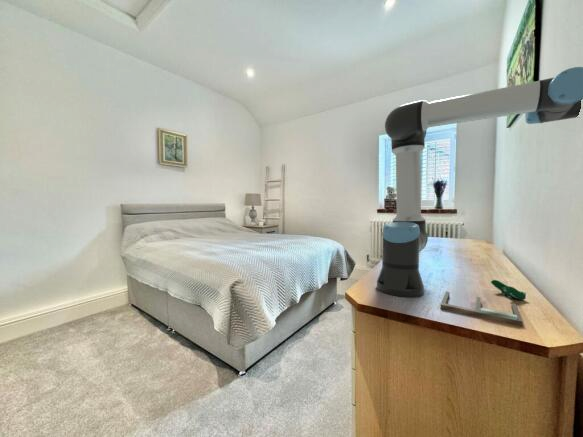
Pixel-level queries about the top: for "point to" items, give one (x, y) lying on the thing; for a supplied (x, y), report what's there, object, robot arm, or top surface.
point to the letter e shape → (485, 312)
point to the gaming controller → (509, 290)
